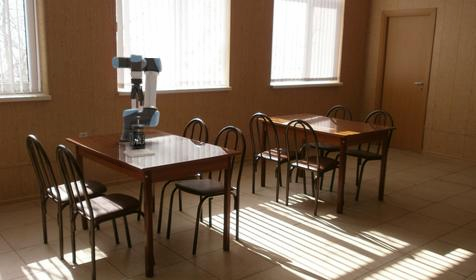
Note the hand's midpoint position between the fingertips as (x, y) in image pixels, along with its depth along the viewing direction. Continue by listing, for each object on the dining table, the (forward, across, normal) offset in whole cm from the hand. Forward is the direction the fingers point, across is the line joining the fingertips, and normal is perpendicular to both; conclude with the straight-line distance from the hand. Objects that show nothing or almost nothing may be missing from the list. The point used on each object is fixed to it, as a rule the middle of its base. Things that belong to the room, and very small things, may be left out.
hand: (137, 109), depth 313 cm
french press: (+28, 0, 0) cm, 28 cm away
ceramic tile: (+28, +13, -4) cm, 30 cm away
